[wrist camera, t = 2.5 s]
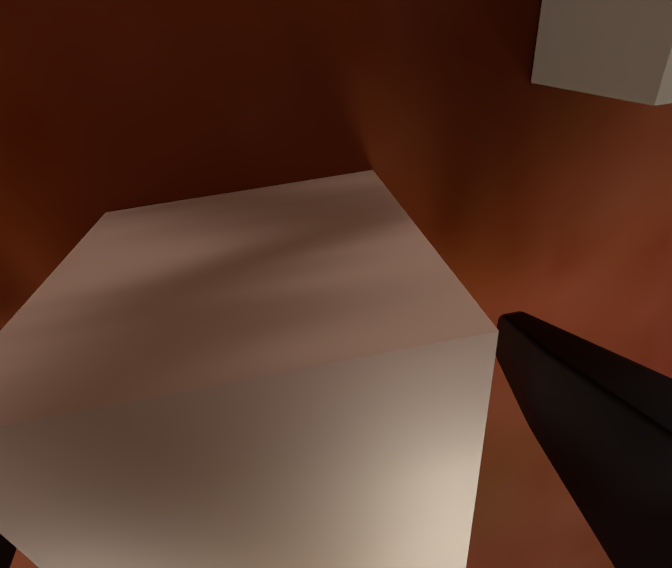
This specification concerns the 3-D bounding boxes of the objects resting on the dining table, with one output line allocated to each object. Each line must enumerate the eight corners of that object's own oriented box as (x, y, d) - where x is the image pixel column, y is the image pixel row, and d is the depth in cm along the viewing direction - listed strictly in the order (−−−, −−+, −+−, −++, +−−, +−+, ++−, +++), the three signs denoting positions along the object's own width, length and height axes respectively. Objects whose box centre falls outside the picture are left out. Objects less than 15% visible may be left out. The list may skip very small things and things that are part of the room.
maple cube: (372, 168, 8) (498, 330, 4) (384, 359, 11) (464, 579, 7) (106, 211, 8) (-101, 444, 4) (190, 396, 11) (137, 653, 7)
